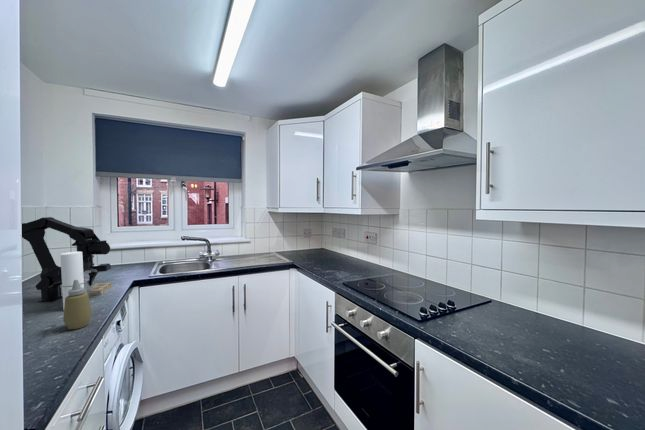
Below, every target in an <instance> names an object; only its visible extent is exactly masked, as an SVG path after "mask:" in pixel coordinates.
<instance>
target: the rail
mask: <svg viewBox="0 0 645 430" xmlns="http://www.w3.org/2000/svg"><path fill="white" fill-rule="evenodd" d="M111 288H113V282H112V281H111V282H108V281H107V282H100V283H99V282H97V283H95V284H93V290H92V291H87V294H88V296H89V297H91V296H99V295H102V294H104V293H105V292H106V291H108V290H109V289H111Z"/></svg>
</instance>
